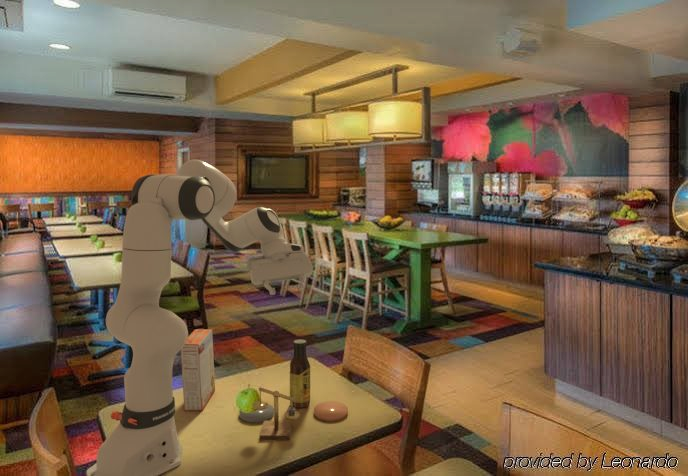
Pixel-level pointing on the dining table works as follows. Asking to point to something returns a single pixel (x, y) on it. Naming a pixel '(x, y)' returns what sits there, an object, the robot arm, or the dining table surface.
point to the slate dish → (258, 415)
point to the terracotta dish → (330, 411)
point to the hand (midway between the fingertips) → (287, 291)
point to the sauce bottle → (300, 375)
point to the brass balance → (276, 418)
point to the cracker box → (198, 369)
